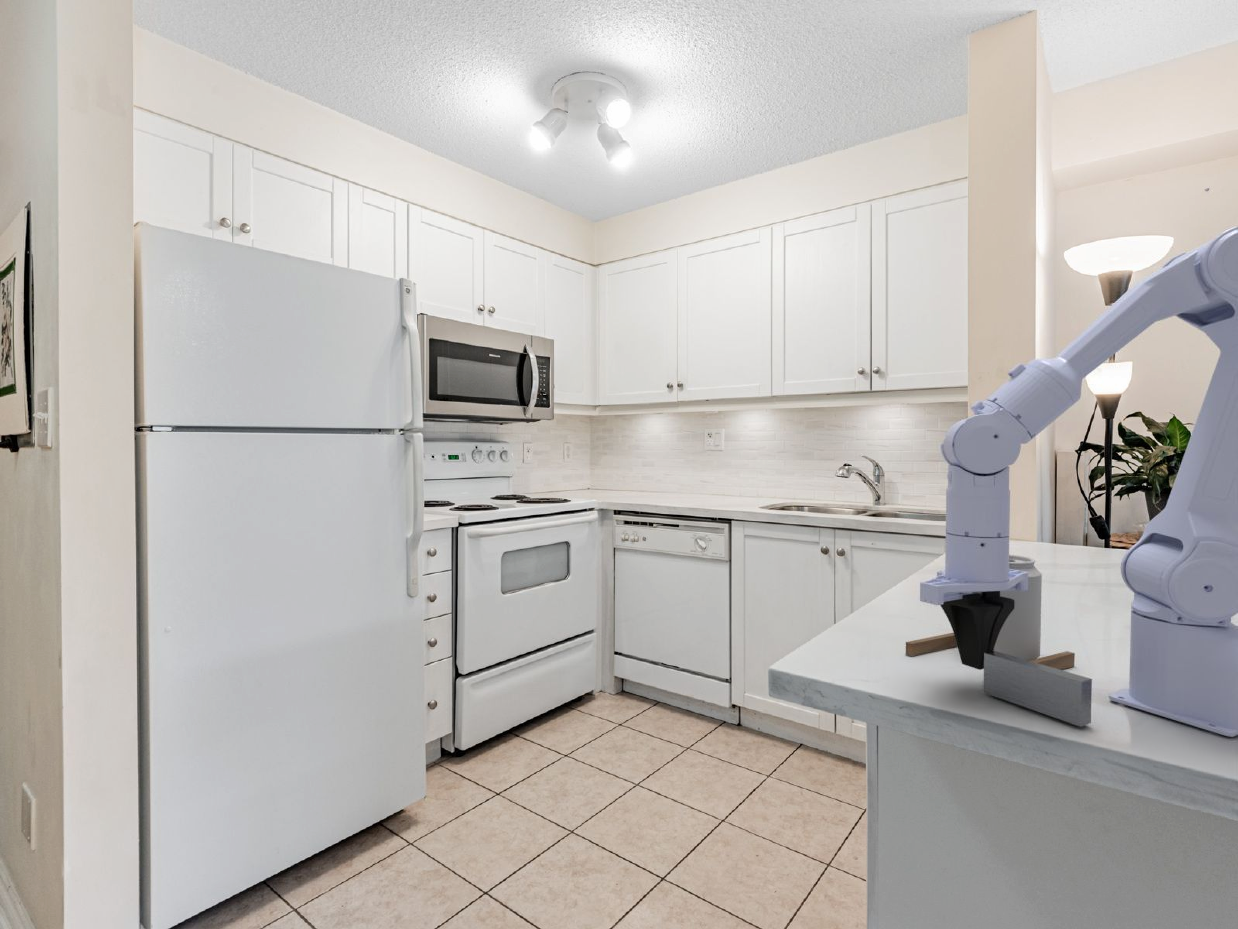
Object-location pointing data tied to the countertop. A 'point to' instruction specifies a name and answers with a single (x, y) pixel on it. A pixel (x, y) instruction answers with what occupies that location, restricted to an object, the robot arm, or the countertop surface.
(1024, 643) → the can
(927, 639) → the pair of wooden slats
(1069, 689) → the bar
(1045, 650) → the countertop surface
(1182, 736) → the countertop surface
